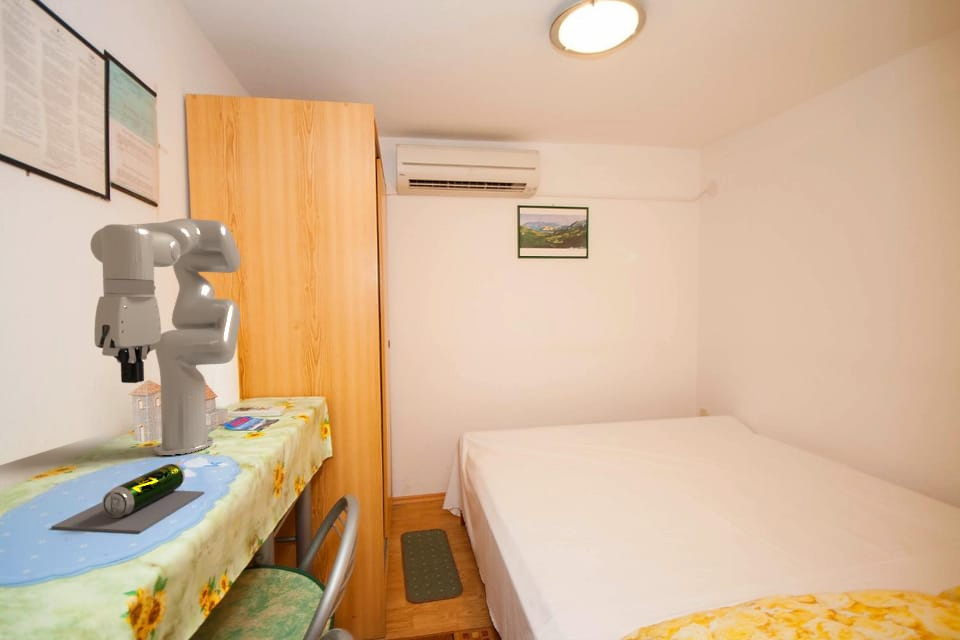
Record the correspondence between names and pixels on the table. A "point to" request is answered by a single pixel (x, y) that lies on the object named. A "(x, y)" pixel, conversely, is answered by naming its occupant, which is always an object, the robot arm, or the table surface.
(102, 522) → the mat
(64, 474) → the table surface
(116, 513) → the green soda can
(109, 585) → the table surface
